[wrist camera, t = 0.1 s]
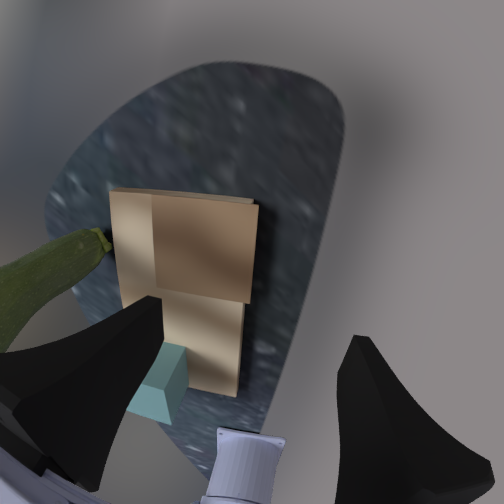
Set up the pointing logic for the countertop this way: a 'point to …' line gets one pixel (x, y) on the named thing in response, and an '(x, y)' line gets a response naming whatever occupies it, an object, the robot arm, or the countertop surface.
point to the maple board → (190, 272)
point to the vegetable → (45, 277)
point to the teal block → (163, 385)
